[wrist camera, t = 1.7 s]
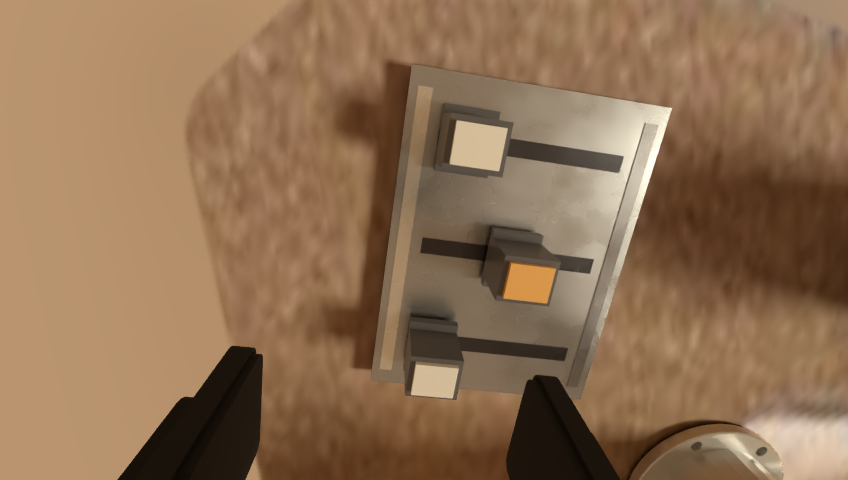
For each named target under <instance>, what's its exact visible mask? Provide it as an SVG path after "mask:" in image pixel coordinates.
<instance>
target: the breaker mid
mask: <svg viewBox="0 0 848 480" xmlns="http://www.w3.org/2000/svg"><path fill="white" fill-rule="evenodd" d="M543 237H544V236H543V235H541V234H540V233H533V232H525V231H517V230H510V229H502V228H495V227H492V230H491V235H490V240H489V245H488V250H487V254H486V259H485V264H484V269H483V274H482V279H481V284H482V286H485V287H489V289H490V291H491V293H492V295H493V297H494V299H495V301H504V302H513V303H521V304H530V305H539V306H548V307H549V305H550V301H551V298H552V294H553V290H554V286H555V283H556V279H557V275H558V271H559V267H560V264H561V262H560V261H559V260H558V259H557V258H556V257H555V256H554V255H553V254H552V253H550V252H549V251H548V250H547V249H546V248H545V247H544V246H543V245H542V241H543Z"/></svg>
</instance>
